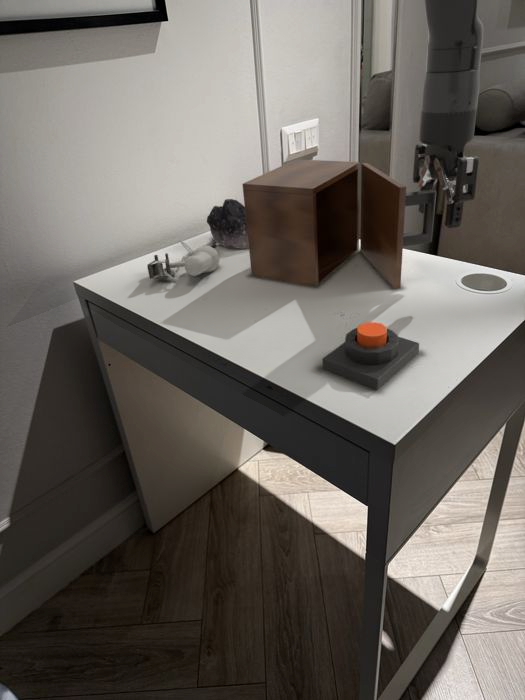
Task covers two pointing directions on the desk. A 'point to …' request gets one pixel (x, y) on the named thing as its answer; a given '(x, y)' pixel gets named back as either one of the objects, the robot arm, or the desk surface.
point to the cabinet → (303, 220)
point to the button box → (370, 359)
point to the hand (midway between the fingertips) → (438, 219)
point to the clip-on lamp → (187, 262)
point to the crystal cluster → (229, 224)
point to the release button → (371, 334)
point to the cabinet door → (390, 221)
